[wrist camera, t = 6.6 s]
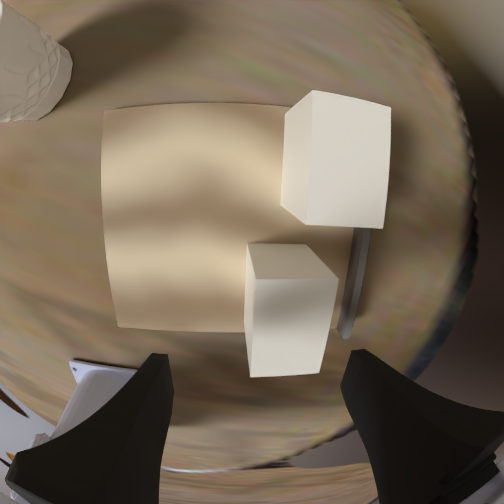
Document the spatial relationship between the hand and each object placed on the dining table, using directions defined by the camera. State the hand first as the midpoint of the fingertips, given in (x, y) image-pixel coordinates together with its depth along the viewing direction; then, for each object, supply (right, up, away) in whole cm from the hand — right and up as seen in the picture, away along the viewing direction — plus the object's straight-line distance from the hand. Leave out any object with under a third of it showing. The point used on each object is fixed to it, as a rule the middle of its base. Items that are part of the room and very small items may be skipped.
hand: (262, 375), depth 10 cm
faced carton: (+4, +11, +7) cm, 13 cm away
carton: (+1, +2, +9) cm, 10 cm away
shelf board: (-2, +7, +9) cm, 11 cm away
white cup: (-17, +18, +4) cm, 25 cm away
